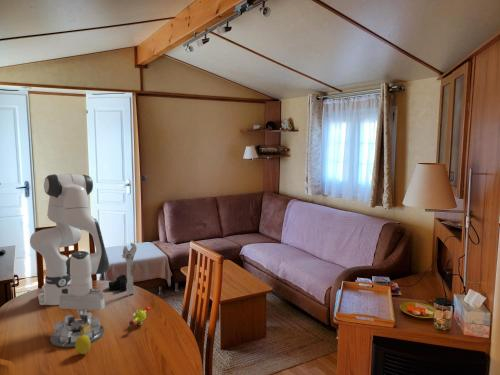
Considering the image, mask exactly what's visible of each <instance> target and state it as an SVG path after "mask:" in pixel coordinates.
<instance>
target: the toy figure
mask: <svg viewBox="0 0 500 375" xmlns="http://www.w3.org/2000/svg"><path fill="white" fill-rule="evenodd" d="M150 311H151V307H150V306H145V309H144V310H142V309H137V310H136V311H135V312H134V313H133V314H132V316H133V319H132V320H130V321H129V323H128V324H129V326H131V327H133V326H135V324H136V322H137V323H138V324H137V326H138V325H140V326H141V325H142V324H143V322H144V321H145V320H146V318H147V315H146V313H148V312H150Z"/></svg>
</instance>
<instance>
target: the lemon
mask: <svg viewBox="0 0 500 375" xmlns="http://www.w3.org/2000/svg"><path fill="white" fill-rule="evenodd" d="M91 344H92V343H91V342H90V339H89V337H88V336H86V335H81V336H79V337H78V338H77V340H76V343H75V347H74V348H75V351H76V352H77V353H78V354H80V355H85V354H86V353H89V352H88V351H90V349H91V347H92V345H91Z"/></svg>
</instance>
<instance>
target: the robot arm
mask: <svg viewBox="0 0 500 375" xmlns="http://www.w3.org/2000/svg"><path fill="white" fill-rule="evenodd" d="M93 182H94V180H93V179H92V177H91V176H90V175H86V174H77V173H63V174H62V173H61V174H49V175H47V176H46V177H45V178H44V182H43V189H44V192H45V194H46V195H48V196H49V199H48V204H47V205H48V206H47V213H46V215H47V218H48V220H50V221H51V222H53V223H55V226H54V227H51V228H45V229H44V228H43V229H41V230H38V231H35V232H33V233H32V234H31V236H30V237H29V245H30V247H31V249H32V250H34V251H36V252H37V253H39V254H40V255H41V256H42V258H43V260H44V263H45V270H46V271H45V272H46V273H45V274H46V275H45V277H44V282H45V283H44V284H43V285H42V286H41V288H40V289H39V293H38V294H37V299H38V302H39V305H40V306H58V307H59V308H60V309H63V310H65V309H67V310H76V312H77V314H78V315H79V319H82V315H84V314H85V313H86V312H87V311H92V312H93V311H94V312H95V311H96V312H101V311H102V310H104V309H105V307H106V305H105V304H106V302H105V293H104V291H102V290H101V289H95V288H93V278H92V275H103V274H105V273H106V272H107V271H108V270H109V269H110V259H109V255H108V254H107V250H106V248H105V247H106V246H105V244H104V243H105V242H104V240H103V239H104V238H103V234H102V229H101V228H100V225H99V224H100V223H99V222H98V220H97V219H96V218H94V217H93V216H92V214H91V211H90V202H89V196H88V195H90V194H91V193H92V192H93V189H94V183H93ZM81 230H82V231H85V232H87V233H89V234H90V235H91V236H92V239H93V243H94V246H95V252H94V253H92V252H91V253H89V252H88V251H86V250H78V251H75V252H72V253H71V255H70V256H69V257H68V256H67V255H64V254H63V253H60V250H59V249H61V248H65V247H66V248H67V247H70V246H73V245H75V244H77V243H79V242H80V241H81V239H82V231H81Z"/></svg>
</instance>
